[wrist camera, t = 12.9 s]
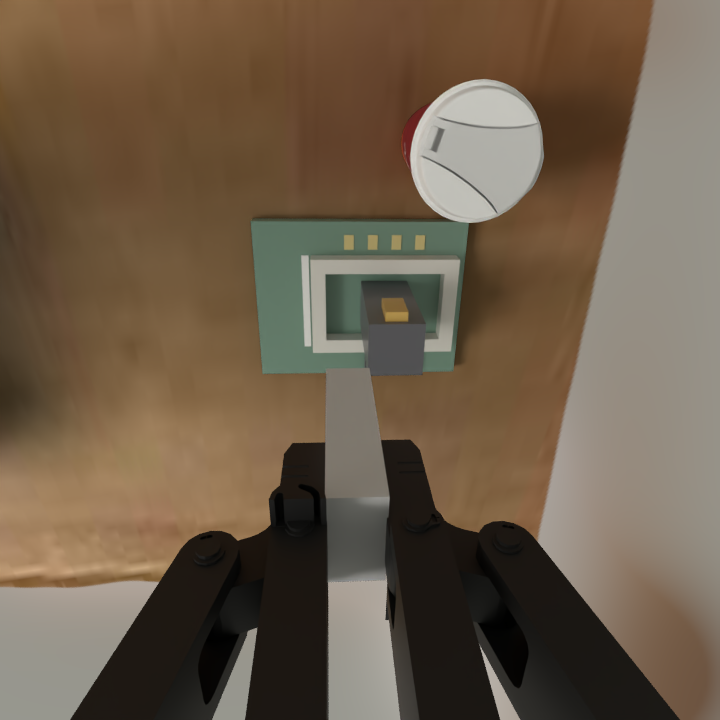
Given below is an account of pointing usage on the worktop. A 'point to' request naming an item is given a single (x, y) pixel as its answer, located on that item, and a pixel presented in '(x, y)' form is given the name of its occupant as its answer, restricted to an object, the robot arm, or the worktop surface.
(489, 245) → the worktop surface
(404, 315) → the plug
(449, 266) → the board
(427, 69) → the worktop surface
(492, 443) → the worktop surface
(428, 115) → the paper cup
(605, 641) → the robot arm
